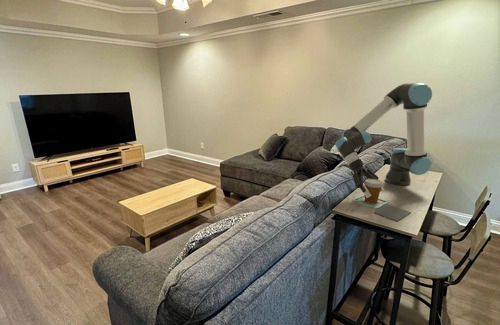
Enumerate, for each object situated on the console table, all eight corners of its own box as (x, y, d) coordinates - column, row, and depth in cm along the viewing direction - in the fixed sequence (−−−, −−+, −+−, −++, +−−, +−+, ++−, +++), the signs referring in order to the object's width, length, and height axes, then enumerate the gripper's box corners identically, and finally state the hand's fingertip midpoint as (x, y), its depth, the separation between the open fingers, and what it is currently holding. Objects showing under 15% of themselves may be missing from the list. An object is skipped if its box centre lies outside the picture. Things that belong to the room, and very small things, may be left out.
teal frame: (365, 194, 158) (365, 193, 158) (389, 202, 147) (390, 201, 147) (351, 200, 149) (352, 199, 149) (376, 209, 138) (376, 208, 138)
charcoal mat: (387, 205, 143) (387, 204, 143) (410, 213, 134) (411, 212, 134) (372, 212, 135) (373, 211, 134) (397, 221, 125) (397, 220, 125)
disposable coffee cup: (384, 203, 145) (387, 183, 142) (369, 205, 142) (372, 185, 139) (371, 197, 154) (374, 177, 150) (357, 199, 151) (360, 179, 148)
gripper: (360, 161, 162) (381, 191, 155) (336, 168, 148) (358, 202, 140) (370, 155, 157) (392, 185, 149) (346, 161, 142) (369, 196, 135)
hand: (375, 194), depth 145 cm, fingers open, 13 cm apart
